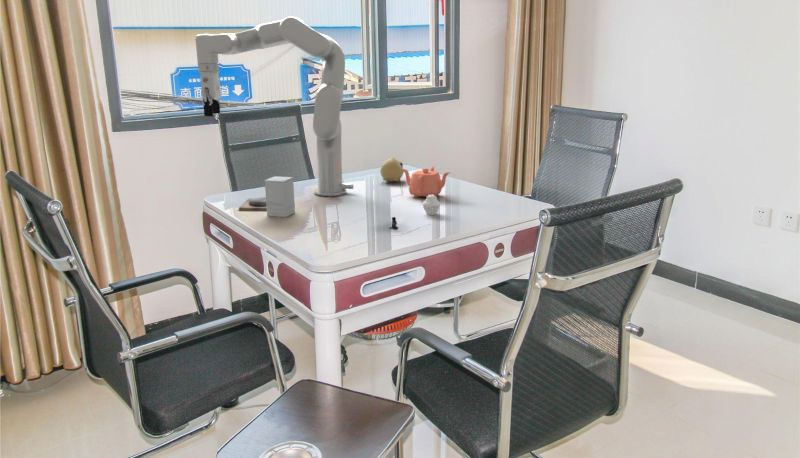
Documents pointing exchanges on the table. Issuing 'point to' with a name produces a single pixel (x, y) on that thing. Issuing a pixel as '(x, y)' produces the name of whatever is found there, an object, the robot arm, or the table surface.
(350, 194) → the table surface
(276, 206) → the supplement box
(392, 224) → the sculpture
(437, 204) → the muffin
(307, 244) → the table surface
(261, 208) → the brown square board
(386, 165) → the pale yellow rounded lump
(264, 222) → the table surface
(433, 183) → the teapot
